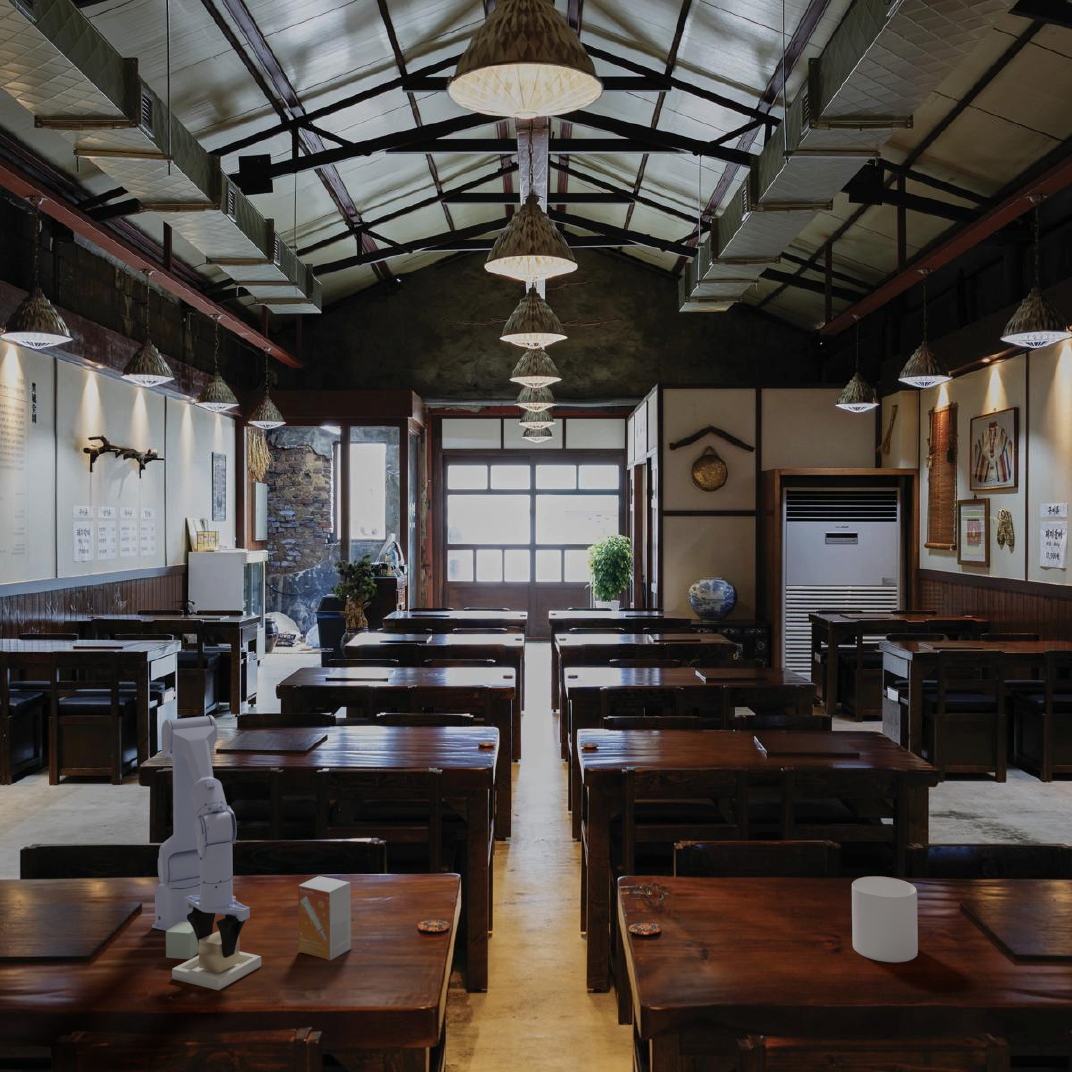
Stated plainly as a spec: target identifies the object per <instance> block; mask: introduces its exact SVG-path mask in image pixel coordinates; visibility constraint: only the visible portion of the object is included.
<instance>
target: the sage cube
mask: <svg viewBox="0 0 1072 1072" xmlns="http://www.w3.org/2000/svg"><path fill="white" fill-rule="evenodd" d="M197 954H198V955H199V944H198V941H197V938H196V935H195V932H194V930H193V928H192V926H191V924H190V922H179V923H177V924H176V925H175V926H173V927H172V928H170V929H169V930H167V931H165V958H169V959H180V960H181V959H182V960H190V959H192V958H194V957H196V955H197Z"/></svg>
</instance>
